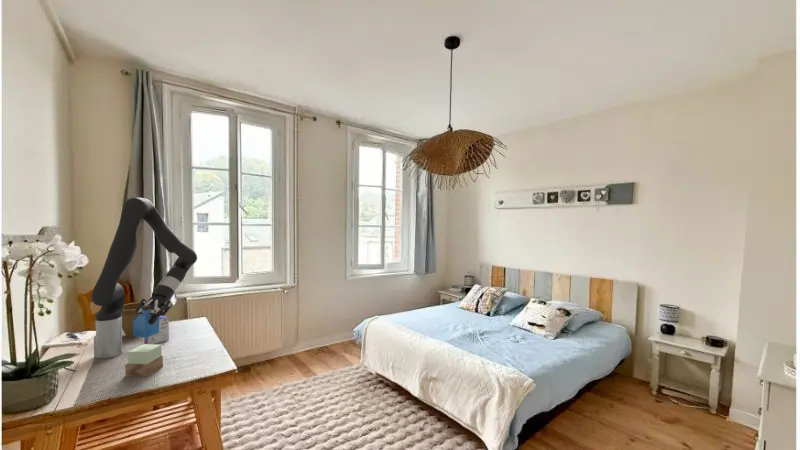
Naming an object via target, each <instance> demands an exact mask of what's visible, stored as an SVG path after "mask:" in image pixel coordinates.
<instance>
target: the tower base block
mask: <svg viewBox="0 0 800 450" xmlns="http://www.w3.org/2000/svg"><path fill="white" fill-rule="evenodd" d="M163 361H164V356H163V355H162V356H161V357H159V358H157V359H156V360H154V361H152V362H150V363H148V364H128V362H127V363H126V364H125V365H124V366H125V372H124V373H125V377H149V376H151V375H153V374H155V372H156V371H159V369H161V368H163V367H164V362H163Z"/></svg>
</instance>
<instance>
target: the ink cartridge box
mask: <svg viewBox="0 0 800 450" xmlns="http://www.w3.org/2000/svg"><path fill="white" fill-rule="evenodd" d="M158 318H159V333H157V334H154V335H152V336H149V337H146V338H143V344H160V343H162V342H167V341H170V332H169V331H170V330H169V329H170V327H169V322H170V321H169V320H170V317H169V316H166V315H164V316H162V315H161V316H160V317H158Z"/></svg>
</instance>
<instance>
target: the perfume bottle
mask: <svg viewBox="0 0 800 450" xmlns="http://www.w3.org/2000/svg"><path fill="white" fill-rule="evenodd" d="M141 312H142V314H139V315H138V316H137V317H136V318H135V320H134V321H133V336H135V337H137V338H143V339H144V338H146V337H149V336H152V335H154V334H157V333H159V318H157V320H156V321H155V323H153V324H152V325H150V324H149V323H148V321H149V320H150V318H151V317H152V315H153V314H154V312H152V310H151V305H145V306H142V309H141ZM135 337H134V338H135Z"/></svg>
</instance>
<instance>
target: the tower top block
mask: <svg viewBox="0 0 800 450" xmlns="http://www.w3.org/2000/svg"><path fill="white" fill-rule="evenodd" d="M161 356H163V355H162V344H157V343H155V344H144V343H142V344H141V345H139V346H136V347H134V348H133V349H130V350H128V351H127V363H128V364H148V363H150V362H152V361H154V360H156V359H157V358H159V357H161Z"/></svg>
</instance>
